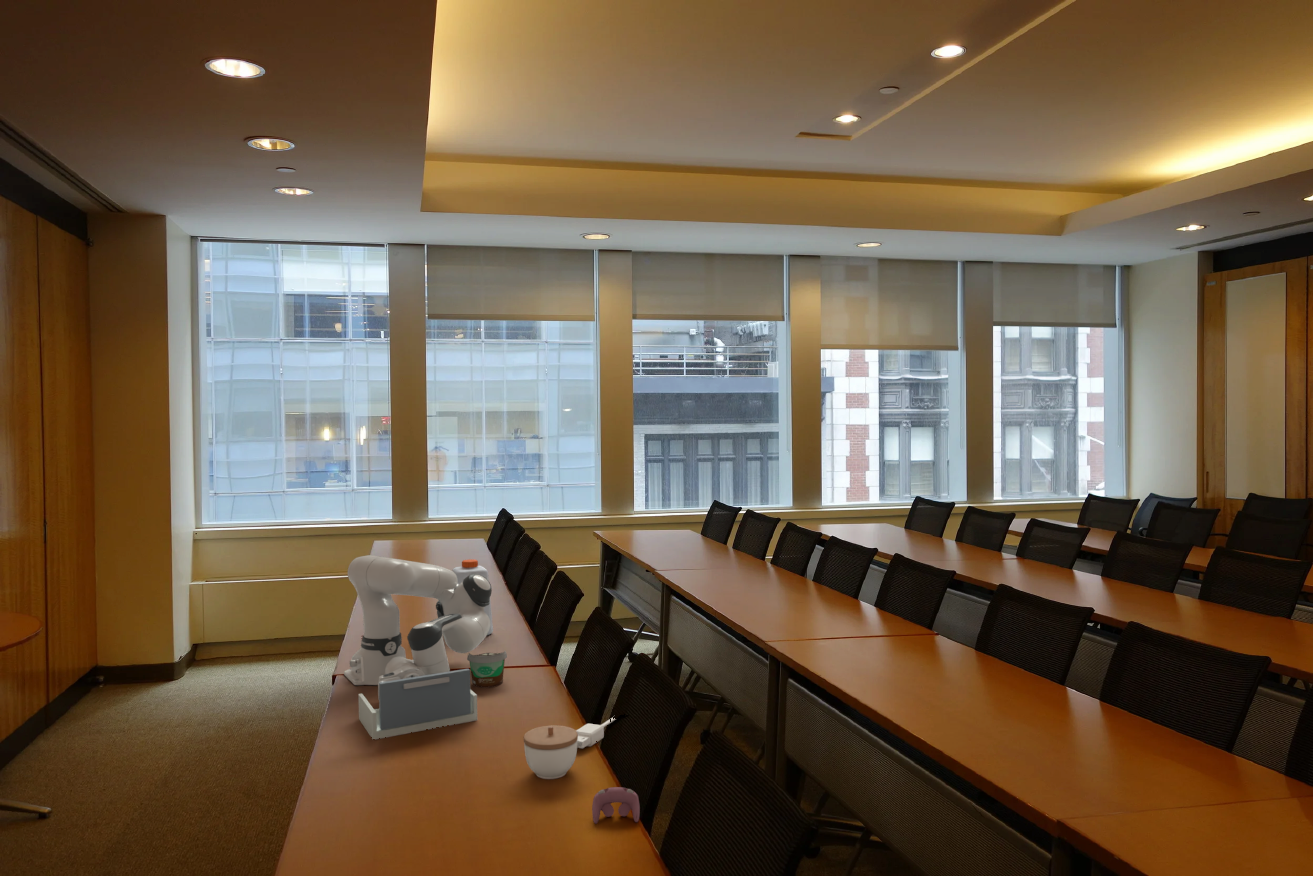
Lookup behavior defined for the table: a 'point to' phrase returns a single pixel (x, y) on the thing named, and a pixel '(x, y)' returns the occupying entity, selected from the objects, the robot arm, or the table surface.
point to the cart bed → (372, 724)
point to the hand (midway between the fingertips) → (422, 696)
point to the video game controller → (615, 795)
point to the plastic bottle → (473, 567)
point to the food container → (487, 669)
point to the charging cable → (591, 734)
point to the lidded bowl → (550, 750)
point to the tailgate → (424, 698)
